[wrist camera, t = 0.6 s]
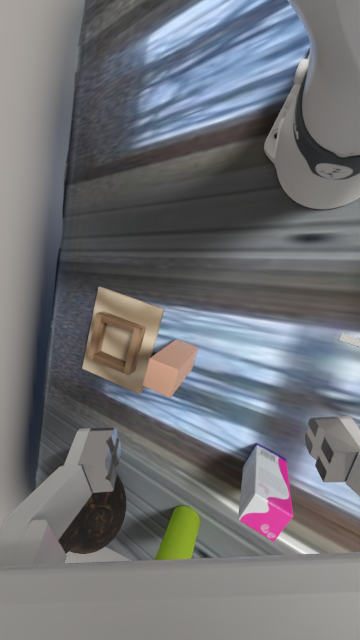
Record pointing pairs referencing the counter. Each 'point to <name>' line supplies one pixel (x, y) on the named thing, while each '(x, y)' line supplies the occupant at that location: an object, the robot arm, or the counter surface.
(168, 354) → the block
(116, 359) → the housing
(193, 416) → the counter surface
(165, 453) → the counter surface
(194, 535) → the soap dispenser
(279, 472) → the supplement box
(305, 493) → the counter surface
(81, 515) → the glass bottle
